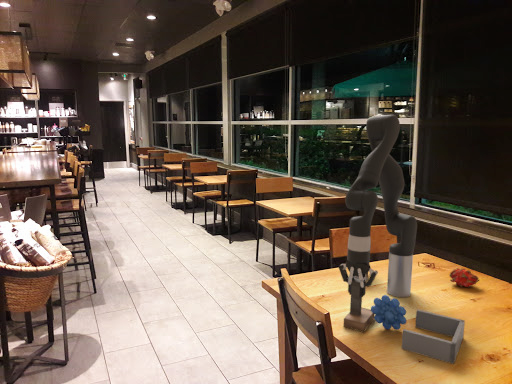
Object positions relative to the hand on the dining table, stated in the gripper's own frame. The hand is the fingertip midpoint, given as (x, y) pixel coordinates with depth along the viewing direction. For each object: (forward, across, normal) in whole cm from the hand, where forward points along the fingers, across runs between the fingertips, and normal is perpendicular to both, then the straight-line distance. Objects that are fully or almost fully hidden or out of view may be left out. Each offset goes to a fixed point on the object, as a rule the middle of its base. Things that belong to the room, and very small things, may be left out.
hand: (356, 295), depth 142 cm
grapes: (+10, -12, 0) cm, 15 cm away
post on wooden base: (+10, -2, 0) cm, 10 cm away
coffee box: (+10, +15, -45) cm, 48 cm away
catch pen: (+10, -26, 0) cm, 27 cm away
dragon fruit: (+10, -26, -60) cm, 66 cm away
